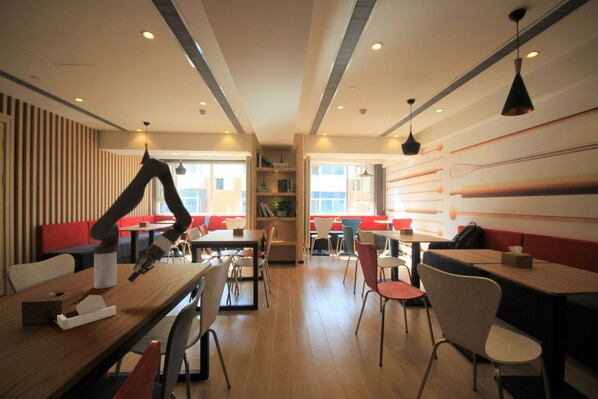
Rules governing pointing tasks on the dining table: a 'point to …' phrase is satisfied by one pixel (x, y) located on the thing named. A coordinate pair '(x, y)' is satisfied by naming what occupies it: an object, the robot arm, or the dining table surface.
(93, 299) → the die
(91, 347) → the dining table surface
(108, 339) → the dining table surface
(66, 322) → the corral
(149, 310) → the dining table surface
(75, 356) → the dining table surface
